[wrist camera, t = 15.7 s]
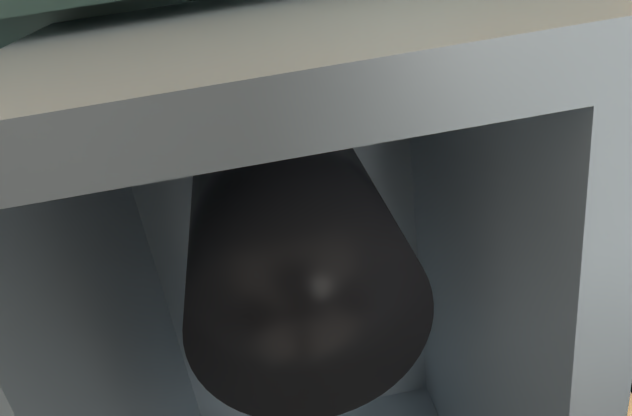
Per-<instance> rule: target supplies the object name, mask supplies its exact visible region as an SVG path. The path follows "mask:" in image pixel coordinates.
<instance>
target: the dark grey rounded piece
mask: <svg viewBox="0 0 632 416" xmlns="http://www.w3.org/2000/svg"><path fill="white" fill-rule="evenodd" d="M433 315H434V301H433V293H432V289H431V285H430V282H429V279H428V277H427V275H426V273H425V271H424V269H423V267H422V265H421V263H420V262H419V260H418V258H417V256H416V255H415V253H414V251H413V250H412V248H411V246H410V245H409V243H408V241H407V239H406V238H405V236H404V234H403V233H402V231H401V229H400V228H399V226H398V224H397V222H396V221H395V219H394V217H393V216H392V214H391V212H390V210H389V209H388V207H387V205H386V204H385V202H384V200H383V199H382V197H381V195H380V193H379V192H378V190H377V188H376V187H375V185H374V183H373V182H372V180H371V178H370V176H369V175H368V173H367V171H366V170H365V168H364V166H363V164H362V163H361V161H360V159H359V158H358V156H357V154H356V153H355V151H354V149H353V148H349V149H344V150H338V151H332V152H326V153H321V154H315V155H309V156H303V157H298V158H292V159H286V160H280V161H275V162H269V163H263V164H257V165H252V166H246V167H240V168H234V169H229V170H223V171H217V172H212V173H206V174H200V175H194V176H193V183H192V197H191V212H190V226H189V240H188V255H187V269H186V284H185V298H184V313H183V327H182V333H183V346H184V350H185V355H186V358H187V360H188V363H189V365H190V368H191V370H192V371H193V373H194V374H195V376H196V378H197V379H198V381H199V382H200V383H201V384H202V385H203V386H204V388H205V389H206V390H207V391H208V392H210V393H211V394H212V395H213V396H214V397H215V398H216V399H218V400H220V401H221V402H223V403H224V404H226V405H227V406H229V407H231V408H233V409H235V410H237V411H239V412H242V413H245V414H247V415H250V416H337V415H341V414H344V413H346V412H349V411H352V410H354V409H357V408H359V407H361V406H363V405H365V404H367V403H369V402H371V401H372V400H374V399H376V398H377V397H379V396H381V395H382V394H384V393H385V392H386V391H388V390H389V389H390V388H391V387H393V386H394V385H395V384H396V383H397V382H398V381H399V380H400V379H402V378H403V377H404V376H405V374H406V373H407V372H408V371H409V370H410V369H411V367H412V366H413V365H414V363H415V362H416V360H417V359H418V358H419V356H420V355H421V353H422V351H423V349H424V347H425V345H426V343H427V340H428V337H429V334H430V331H431V327H432V322H433Z"/></svg>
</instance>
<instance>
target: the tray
mask: <svg viewBox="0 0 632 416" xmlns="http://www.w3.org/2000/svg"><path fill="white" fill-rule="evenodd" d="M191 1H198V0H0V49H1V48H3V47H5V46H7V45H9V44H11V43H13V42H15V41H17V40H19V39H21V38H23V37H25V36H27V35H29V34H31V33H33V32H35V31H37V30H39V29H41V28H43V27H46V26H48V25H50V24H52V23H58V22H65V21H71V20H77V19H84V18H90V17H96V16H103V15H109V14H115V13H122V12H128V11H134V10H141V9H147V8H153V7H160V6H166V5H172V4H179V3H185V2H191Z"/></svg>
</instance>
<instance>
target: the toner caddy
mask: <svg viewBox="0 0 632 416" xmlns="http://www.w3.org/2000/svg"><path fill="white" fill-rule="evenodd" d="M349 148H353V149H354V151H355V153H356V154H357V156H358V158H359V159H360V161H361V163H362V164H363V166H364V168H365V170H366V171H367V173H368V175H369V176H370V178H371V180H372V182H373V183H374V185H375V187H376V188H377V190H378V192H379V193H380V195H381V197H382V199H383V200H384V202H385V204H386V205H387V207H388V209H389V210H390V212H391V214H392V216H393V217H394V219H395V221H396V222H397V224H398V226H399V228H400V229H401V231H402V233H403V234H404V236H405V238H406V239H407V241H408V243H409V245H410V246H411V248H412V250H413V251H414V253H415V255H416V256H417V258H418V260H419V262H420V263H421V265H422V267H423V269H424V271H425V273H426V275H427V277H428V279H429V282H430V285H431V289H432V293H433V301H434V315H433V322H432V327H431V331H430V334H429V337H428V340H427V343H426V345H425V347H424V349H423V351H422V353H421V355H420V356H419V358H418V359H417V360H416V362H415V363H414V365H413V366H412V367H411V369H410V370H409V371H408V372H407V373H406V374H405V376H404V377H403V378H402V379H400V380H399V381H398V382H397V383H396V384H395V385H394V386H393V387H391V388H390V389H389V390H388V391H386V392H385V393H384V394H382V395H381V396H379V397H377V398H376V399H374V400H372V401H371V402H369V403H367V404H365V405H363V406H361V407H359V408H357V409H354V410H352V411H349V412H346V413H344V414H341V415H337V416H627V412H628V405H629V398H630V391H631V384H632V0H198V1H191V2H185V3H179V4H172V5H166V6H160V7H153V8H147V9H141V10H134V11H128V12H122V13H115V14H109V15H103V16H96V17H90V18H84V19H77V20H71V21H65V22H58V23H52V24H50V25H48V26H46V27H43V28H41V29H39V30H37V31H35V32H33V33H31V34H29V35H27V36H25V37H23V38H21V39H19V40H17V41H15V42H13V43H11V44H9V45H7V46H5V47H3V48H1V49H0V416H250V415H247V414H245V413H242V412H239V411H237V410H235V409H233V408H231V407H229V406H227V405H226V404H224V403H223V402H221V401H220V400H218V399H216V398H215V397H214V396H213V395H212V394H211V393H210V392H208V391H207V390H206V389H205V388H204V386H203V385H202V384H201V383H200V382H199V381H198V379H197V378H196V376H195V374H194V373H193V371H192V370H191V368H190V365H189V363H188V360H187V358H186V355H185V350H184V346H183V333H182V327H183V313H184V298H185V284H186V269H187V255H188V240H189V226H190V212H191V197H192V183H193V176H194V175H200V174H206V173H212V172H217V171H223V170H229V169H234V168H240V167H246V166H252V165H257V164H263V163H269V162H275V161H280V160H286V159H292V158H298V157H303V156H309V155H315V154H321V153H326V152H332V151H338V150H344V149H349Z"/></svg>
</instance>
